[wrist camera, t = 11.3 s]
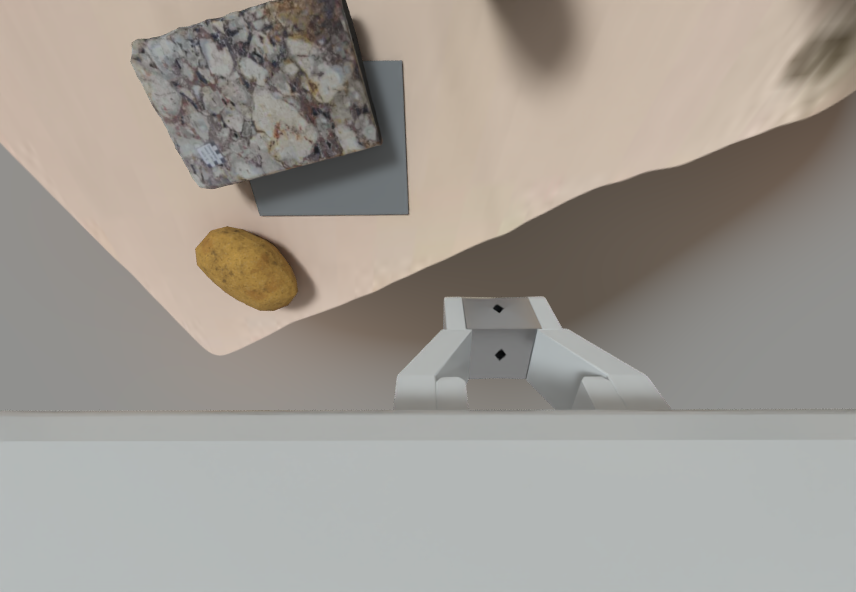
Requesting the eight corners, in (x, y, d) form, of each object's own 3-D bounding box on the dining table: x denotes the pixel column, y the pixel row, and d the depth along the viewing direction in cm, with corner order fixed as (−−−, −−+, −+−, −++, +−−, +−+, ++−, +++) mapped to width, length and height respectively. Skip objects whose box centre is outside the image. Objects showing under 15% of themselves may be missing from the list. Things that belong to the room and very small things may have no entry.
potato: (243, 202, 42) (214, 221, 36) (319, 272, 47) (304, 298, 41) (202, 243, 45) (168, 267, 39) (277, 304, 50) (258, 333, 44)
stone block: (379, 149, 32) (191, 194, 34) (388, 147, 38) (229, 185, 40) (334, -31, 26) (112, 37, 28) (353, 2, 32) (170, 55, 34)
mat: (401, 60, 34) (401, 60, 33) (408, 213, 42) (408, 214, 42) (217, 62, 34) (215, 62, 33) (261, 214, 42) (259, 215, 42)
